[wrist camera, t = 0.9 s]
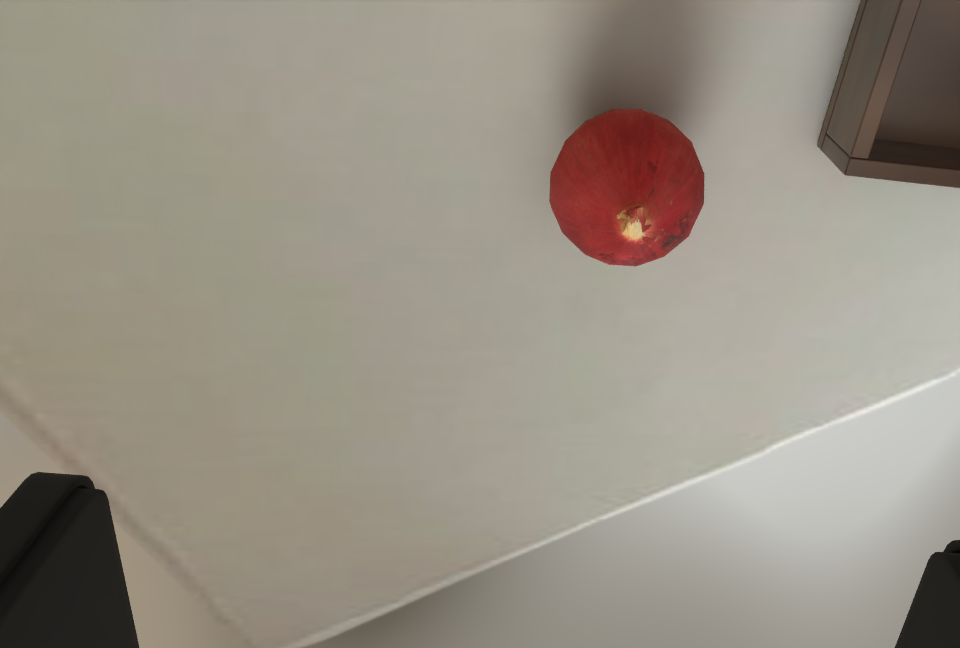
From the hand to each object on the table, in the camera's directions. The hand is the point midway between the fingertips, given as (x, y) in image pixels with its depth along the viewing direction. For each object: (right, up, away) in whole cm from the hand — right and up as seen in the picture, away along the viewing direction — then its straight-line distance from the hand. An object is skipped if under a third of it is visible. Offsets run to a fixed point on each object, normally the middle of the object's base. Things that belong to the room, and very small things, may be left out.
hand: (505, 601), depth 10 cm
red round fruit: (+5, +10, +26) cm, 28 cm away
